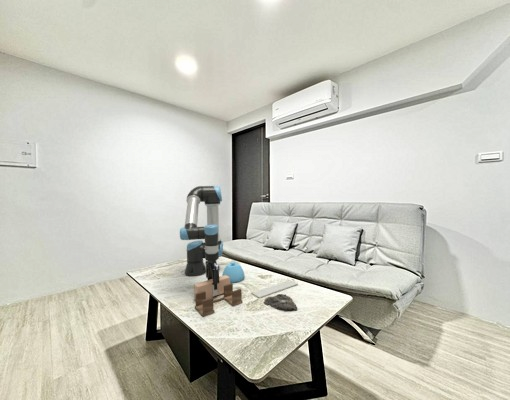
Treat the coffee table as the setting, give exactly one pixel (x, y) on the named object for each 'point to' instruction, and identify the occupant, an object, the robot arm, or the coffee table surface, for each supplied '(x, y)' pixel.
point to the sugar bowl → (234, 272)
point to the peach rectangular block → (207, 286)
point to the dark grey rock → (281, 302)
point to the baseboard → (274, 289)
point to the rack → (206, 305)
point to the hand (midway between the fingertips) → (212, 292)
